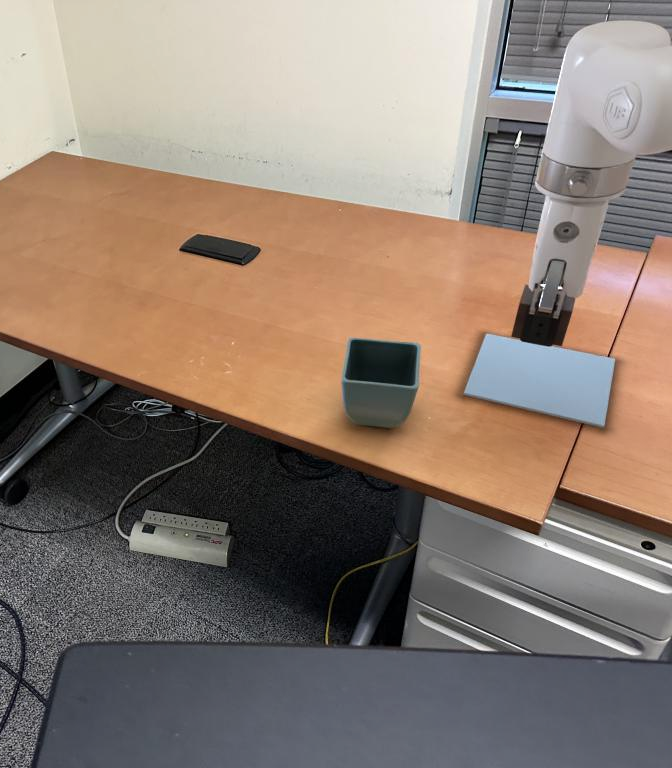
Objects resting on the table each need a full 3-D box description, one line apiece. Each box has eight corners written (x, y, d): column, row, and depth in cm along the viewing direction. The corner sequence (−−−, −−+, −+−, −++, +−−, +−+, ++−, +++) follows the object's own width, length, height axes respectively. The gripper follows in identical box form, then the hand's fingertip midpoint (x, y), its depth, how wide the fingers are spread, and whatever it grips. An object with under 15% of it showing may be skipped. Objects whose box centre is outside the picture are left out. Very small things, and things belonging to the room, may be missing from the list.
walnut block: (566, 326, 76) (577, 291, 73) (561, 346, 73) (572, 311, 70) (517, 317, 78) (525, 283, 75) (510, 337, 75) (519, 302, 73)
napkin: (614, 360, 91) (615, 358, 91) (603, 428, 82) (604, 425, 82) (485, 335, 98) (486, 333, 98) (463, 394, 90) (463, 392, 90)
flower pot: (410, 442, 85) (419, 388, 79) (337, 434, 87) (340, 380, 81) (413, 396, 91) (421, 342, 85) (344, 389, 93) (348, 336, 88)
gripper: (623, 216, 57) (568, 384, 69) (635, 140, 67) (586, 297, 79) (524, 205, 60) (487, 367, 72) (550, 135, 71) (515, 286, 82)
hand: (539, 329), depth 75 cm, fingers closed on walnut block, 4 cm apart
